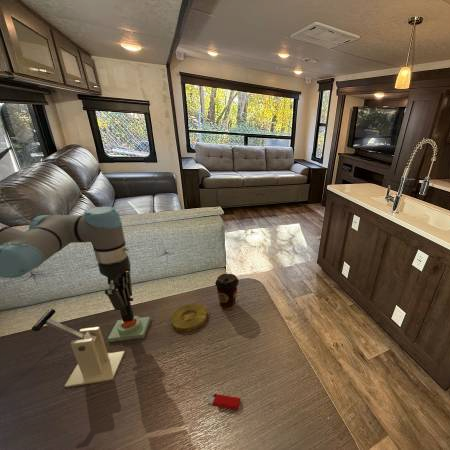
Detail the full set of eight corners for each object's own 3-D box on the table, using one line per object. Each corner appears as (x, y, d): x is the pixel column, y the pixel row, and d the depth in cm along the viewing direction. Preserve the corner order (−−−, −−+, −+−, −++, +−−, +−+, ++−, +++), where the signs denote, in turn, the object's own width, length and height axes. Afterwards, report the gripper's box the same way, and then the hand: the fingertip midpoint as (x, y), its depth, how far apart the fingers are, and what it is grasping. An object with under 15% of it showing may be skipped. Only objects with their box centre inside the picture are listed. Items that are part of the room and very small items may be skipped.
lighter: (236, 408, 64) (207, 403, 64) (237, 411, 64) (207, 406, 65) (240, 397, 67) (211, 392, 67) (240, 400, 67) (212, 395, 68)
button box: (108, 343, 79) (106, 334, 78) (118, 324, 86) (116, 316, 85) (144, 339, 82) (142, 330, 80) (150, 321, 89) (149, 312, 87)
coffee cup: (225, 315, 95) (224, 287, 90) (212, 305, 99) (210, 278, 94) (242, 303, 101) (242, 277, 96) (229, 294, 106) (229, 269, 100)
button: (121, 329, 81) (119, 324, 80) (125, 321, 84) (124, 316, 83) (133, 328, 82) (132, 323, 81) (137, 320, 85) (136, 315, 84)
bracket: (65, 389, 66) (49, 352, 60) (83, 359, 74) (70, 324, 68) (113, 381, 69) (101, 345, 63) (125, 353, 77) (116, 319, 71)
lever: (28, 330, 58) (35, 324, 58) (45, 312, 64) (52, 306, 63) (83, 354, 64) (89, 348, 64) (94, 335, 70) (100, 330, 70)
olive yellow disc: (171, 312, 93) (171, 308, 92) (205, 305, 98) (204, 301, 97) (171, 337, 83) (170, 332, 83) (208, 327, 88) (208, 323, 88)
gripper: (119, 270, 68) (134, 333, 77) (135, 247, 79) (147, 304, 89) (86, 272, 66) (106, 336, 75) (108, 248, 77) (123, 307, 87)
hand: (128, 319), depth 82 cm, fingers closed
